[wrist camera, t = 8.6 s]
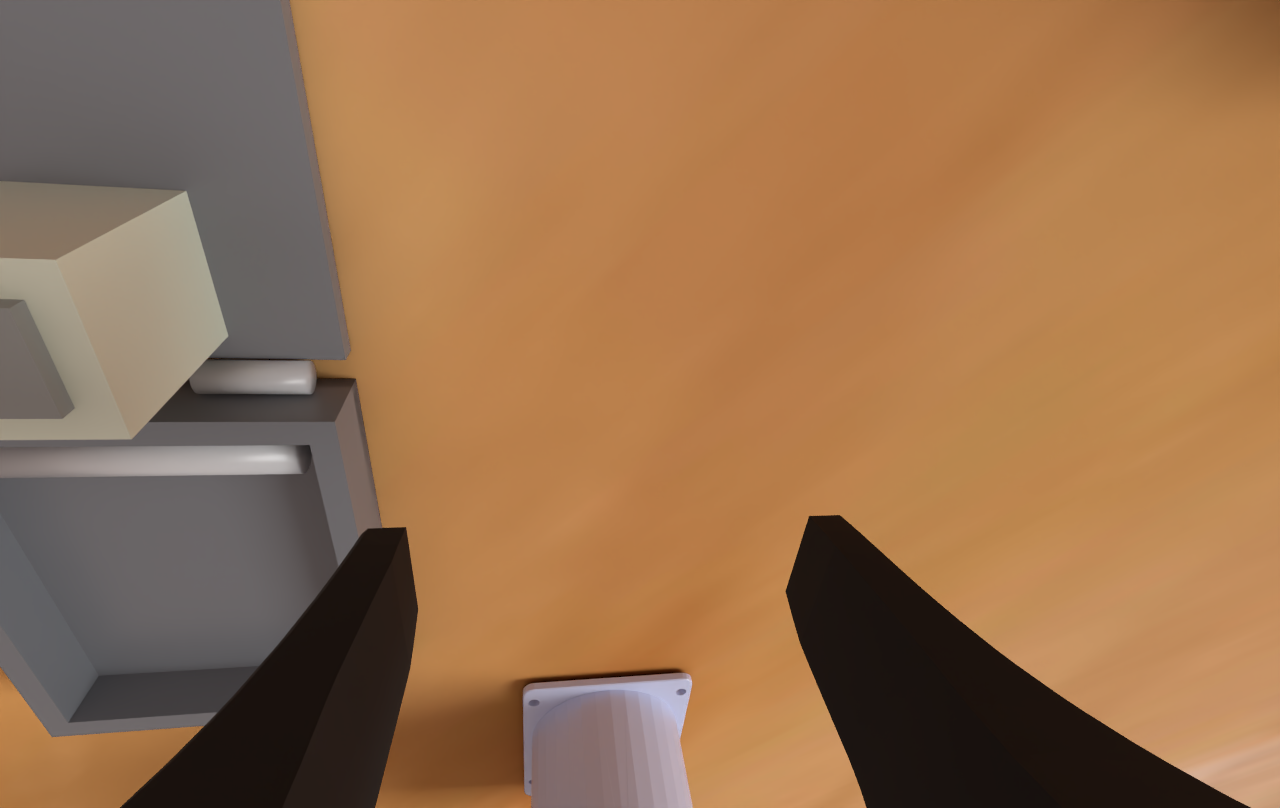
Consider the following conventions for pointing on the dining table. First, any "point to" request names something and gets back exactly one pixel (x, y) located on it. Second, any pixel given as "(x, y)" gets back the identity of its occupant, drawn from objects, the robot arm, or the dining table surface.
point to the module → (98, 308)
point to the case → (174, 552)
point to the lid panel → (190, 155)
